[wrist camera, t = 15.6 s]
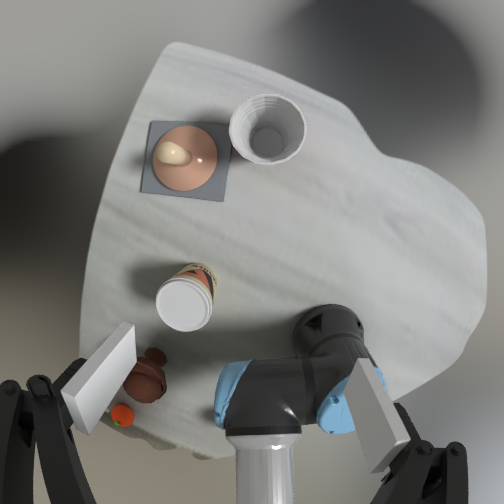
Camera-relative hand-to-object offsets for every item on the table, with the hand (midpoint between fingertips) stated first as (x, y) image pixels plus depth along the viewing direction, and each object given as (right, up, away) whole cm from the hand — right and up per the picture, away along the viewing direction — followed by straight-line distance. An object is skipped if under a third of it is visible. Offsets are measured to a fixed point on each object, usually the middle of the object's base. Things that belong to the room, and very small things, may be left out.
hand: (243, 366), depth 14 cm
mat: (-12, +23, +33) cm, 42 cm away
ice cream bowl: (-22, -18, +43) cm, 52 cm away
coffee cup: (-10, +1, +38) cm, 40 cm away
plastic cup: (+3, +26, +32) cm, 41 cm away
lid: (-12, +23, +32) cm, 41 cm away
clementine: (-37, -39, +49) cm, 73 cm away
